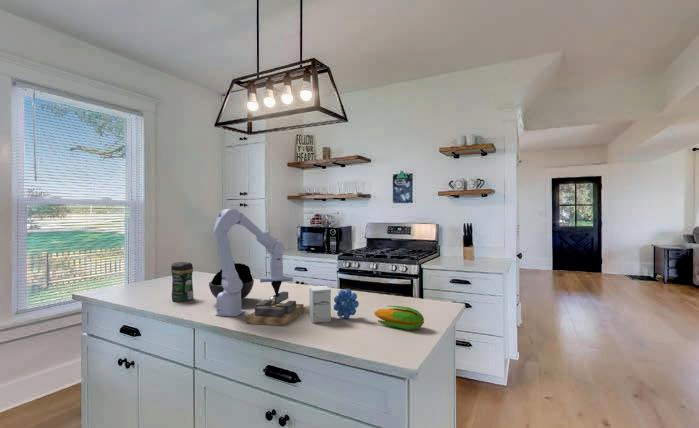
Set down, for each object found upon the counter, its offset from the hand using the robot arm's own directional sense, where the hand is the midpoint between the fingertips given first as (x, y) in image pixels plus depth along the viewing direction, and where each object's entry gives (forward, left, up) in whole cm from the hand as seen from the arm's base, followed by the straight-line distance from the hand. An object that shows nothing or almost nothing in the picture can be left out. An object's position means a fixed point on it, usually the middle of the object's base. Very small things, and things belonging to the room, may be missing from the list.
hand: (277, 297), depth 157 cm
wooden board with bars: (+7, -15, -4) cm, 17 cm away
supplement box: (+26, -16, -4) cm, 31 cm away
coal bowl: (-23, +1, -4) cm, 24 cm away
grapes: (+36, -12, -4) cm, 38 cm away
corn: (+56, -18, -4) cm, 59 cm away
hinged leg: (+2, -3, -1) cm, 4 cm away
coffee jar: (-50, +1, -4) cm, 50 cm away
